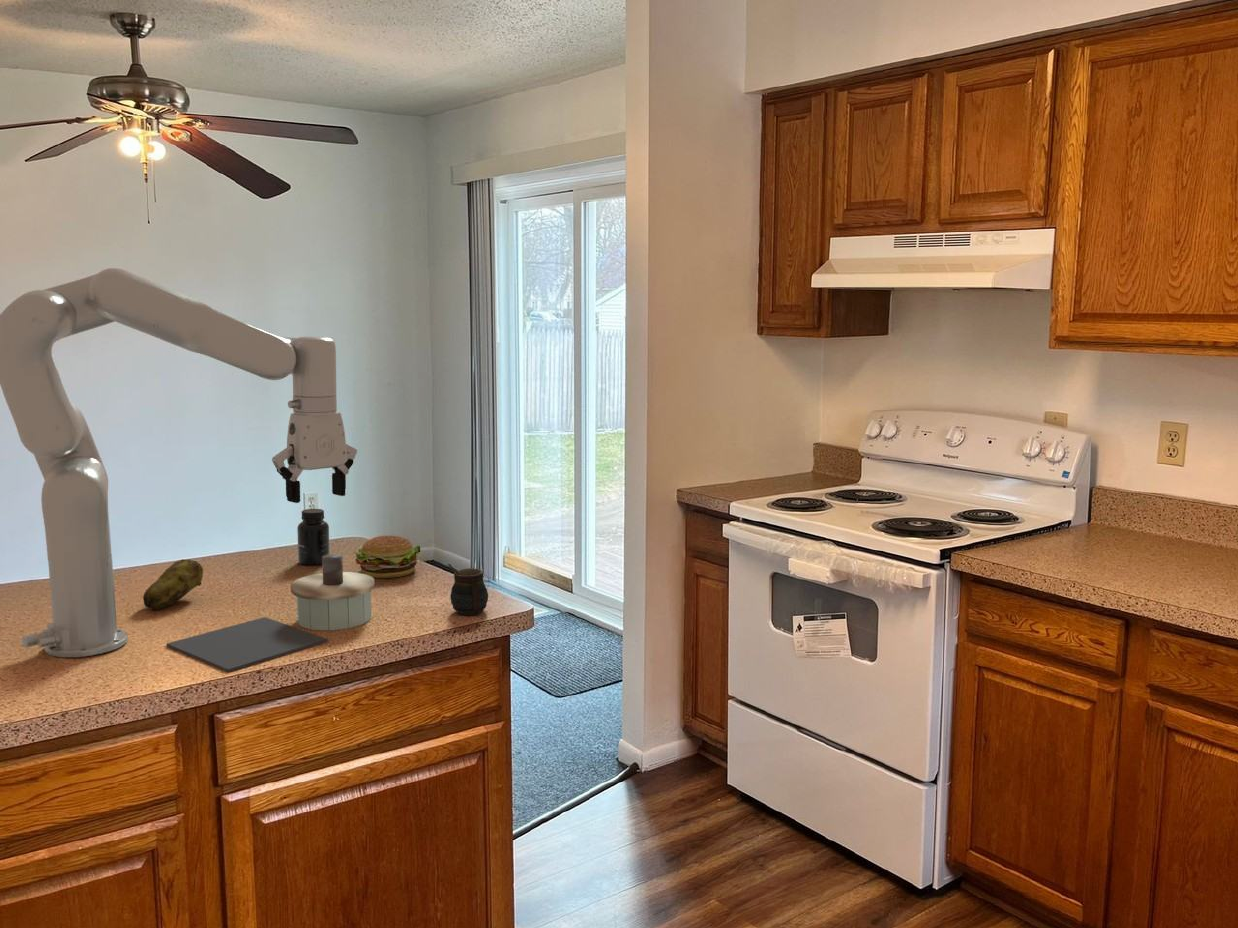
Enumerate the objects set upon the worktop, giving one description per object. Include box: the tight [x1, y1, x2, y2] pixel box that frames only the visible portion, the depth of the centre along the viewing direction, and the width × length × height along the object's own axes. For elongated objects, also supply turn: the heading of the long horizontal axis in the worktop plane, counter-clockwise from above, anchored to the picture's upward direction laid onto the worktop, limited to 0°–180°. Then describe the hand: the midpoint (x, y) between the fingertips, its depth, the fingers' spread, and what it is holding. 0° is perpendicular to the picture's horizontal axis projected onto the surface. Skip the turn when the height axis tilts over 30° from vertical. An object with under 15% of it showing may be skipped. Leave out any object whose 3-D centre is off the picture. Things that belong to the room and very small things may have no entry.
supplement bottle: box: [296, 508, 331, 567], centre depth 228 cm, size 7×7×12 cm
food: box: [353, 534, 421, 579], centre depth 221 cm, size 14×14×8 cm
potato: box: [142, 559, 204, 611], centre depth 197 cm, size 8×13×8 cm, turn 141°
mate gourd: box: [447, 563, 489, 616], centre depth 194 cm, size 7×8×10 cm
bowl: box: [296, 590, 372, 631], centre depth 189 cm, size 13×13×6 cm
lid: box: [290, 553, 376, 600], centre depth 188 cm, size 15×15×6 cm
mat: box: [166, 616, 329, 673], centre depth 176 cm, size 19×19×1 cm
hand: (316, 498), depth 186 cm, fingers open, 9 cm apart
